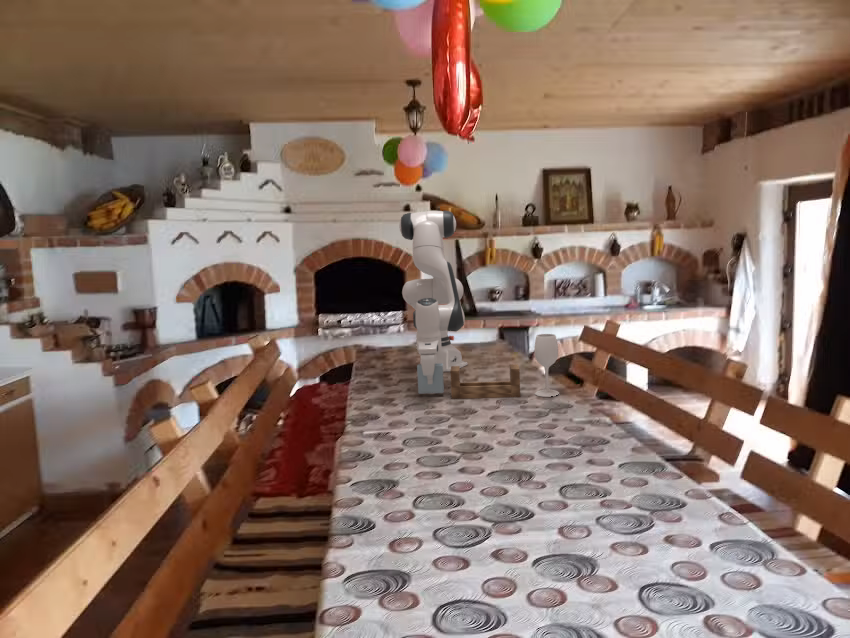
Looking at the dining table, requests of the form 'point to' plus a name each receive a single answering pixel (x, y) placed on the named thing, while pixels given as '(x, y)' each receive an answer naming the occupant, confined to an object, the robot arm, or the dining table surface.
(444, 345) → the robot arm
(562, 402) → the dining table surface
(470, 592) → the dining table surface
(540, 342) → the wineglass
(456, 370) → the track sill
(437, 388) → the door panel
